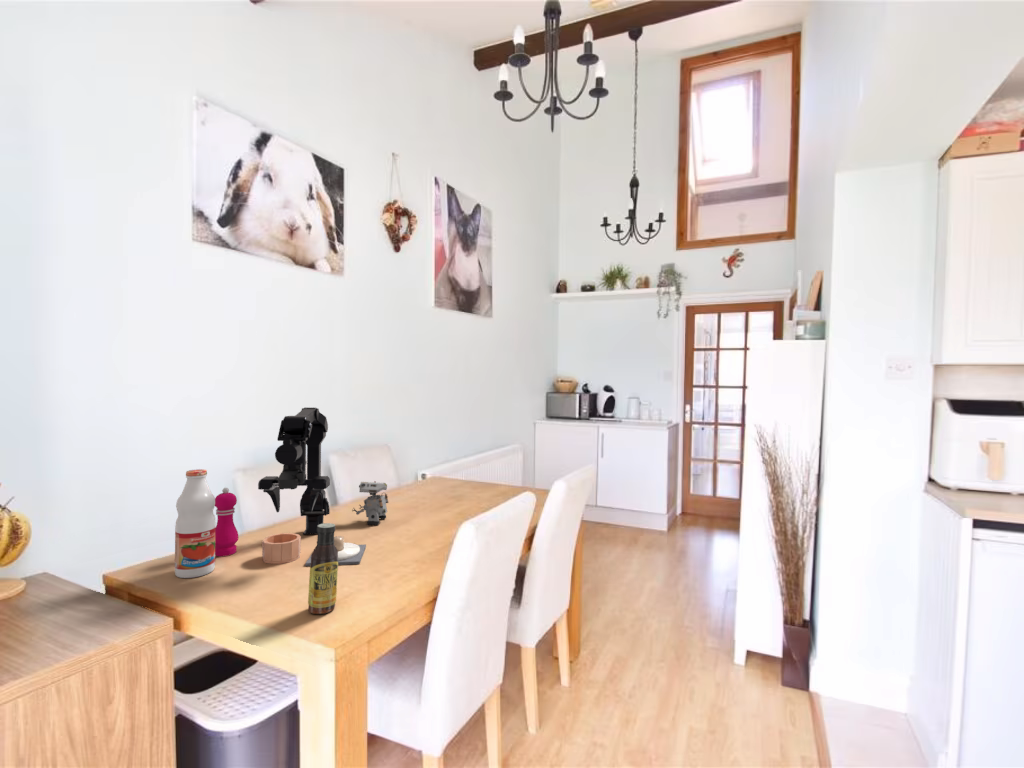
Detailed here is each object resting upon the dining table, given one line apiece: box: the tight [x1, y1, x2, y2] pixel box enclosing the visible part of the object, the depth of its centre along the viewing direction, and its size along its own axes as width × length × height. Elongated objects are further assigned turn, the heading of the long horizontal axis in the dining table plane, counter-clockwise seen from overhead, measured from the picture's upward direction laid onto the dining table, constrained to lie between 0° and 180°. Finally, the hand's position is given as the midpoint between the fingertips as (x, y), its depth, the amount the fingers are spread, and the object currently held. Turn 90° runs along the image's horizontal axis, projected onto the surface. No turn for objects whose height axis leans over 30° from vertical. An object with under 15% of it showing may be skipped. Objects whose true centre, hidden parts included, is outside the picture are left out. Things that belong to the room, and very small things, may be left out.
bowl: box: [261, 532, 302, 565], centre depth 151 cm, size 10×10×6 cm
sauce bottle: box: [307, 522, 339, 615], centre depth 119 cm, size 6×6×20 cm
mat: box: [305, 544, 367, 567], centre depth 154 cm, size 15×15×1 cm
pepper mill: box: [214, 487, 239, 557], centre depth 154 cm, size 7×7×20 cm
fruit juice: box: [174, 468, 217, 579], centre depth 139 cm, size 9×9×28 cm
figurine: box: [351, 480, 389, 526], centre depth 190 cm, size 9×12×15 cm
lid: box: [334, 535, 360, 561], centre depth 154 cm, size 13×13×5 cm
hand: (294, 511), depth 148 cm, fingers open, 9 cm apart
